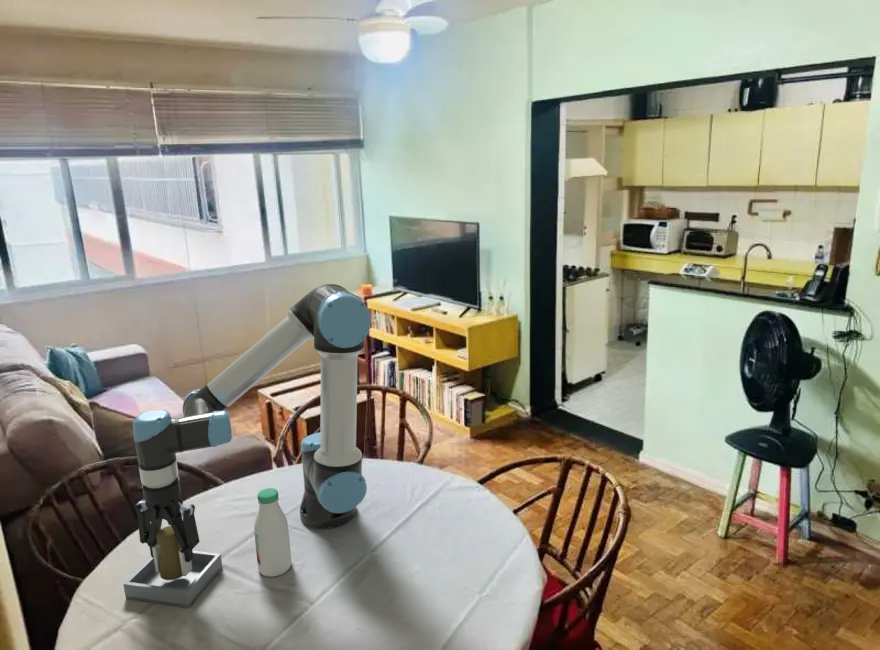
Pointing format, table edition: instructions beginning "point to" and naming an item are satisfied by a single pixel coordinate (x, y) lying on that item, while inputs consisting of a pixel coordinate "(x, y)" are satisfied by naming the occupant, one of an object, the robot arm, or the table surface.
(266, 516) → the milk bottle
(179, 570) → the cork
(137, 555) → the table surface
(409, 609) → the table surface
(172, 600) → the tray
